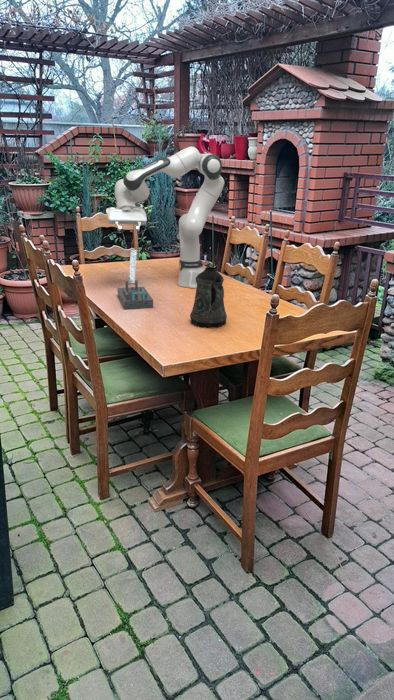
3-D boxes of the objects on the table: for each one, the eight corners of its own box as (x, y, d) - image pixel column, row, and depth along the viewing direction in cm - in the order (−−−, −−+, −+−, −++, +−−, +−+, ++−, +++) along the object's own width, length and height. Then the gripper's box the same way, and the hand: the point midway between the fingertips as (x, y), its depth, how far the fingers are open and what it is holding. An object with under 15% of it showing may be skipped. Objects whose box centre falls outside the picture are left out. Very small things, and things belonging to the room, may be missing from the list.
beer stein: (205, 314, 245) (206, 262, 236) (239, 323, 233) (241, 268, 224) (182, 322, 233) (183, 267, 224) (216, 332, 221) (218, 275, 212)
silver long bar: (134, 284, 270) (133, 282, 271) (137, 251, 252) (136, 248, 253) (128, 284, 269) (128, 282, 270) (130, 251, 252) (130, 249, 253)
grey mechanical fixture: (143, 293, 276) (143, 278, 273) (153, 308, 252) (153, 291, 249) (117, 295, 273) (117, 279, 269) (124, 309, 249) (124, 292, 246)
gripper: (106, 203, 263) (109, 226, 258) (145, 204, 270) (149, 226, 265) (104, 211, 269) (107, 233, 264) (143, 212, 275) (146, 234, 270)
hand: (128, 230), depth 264 cm, fingers open, 8 cm apart
